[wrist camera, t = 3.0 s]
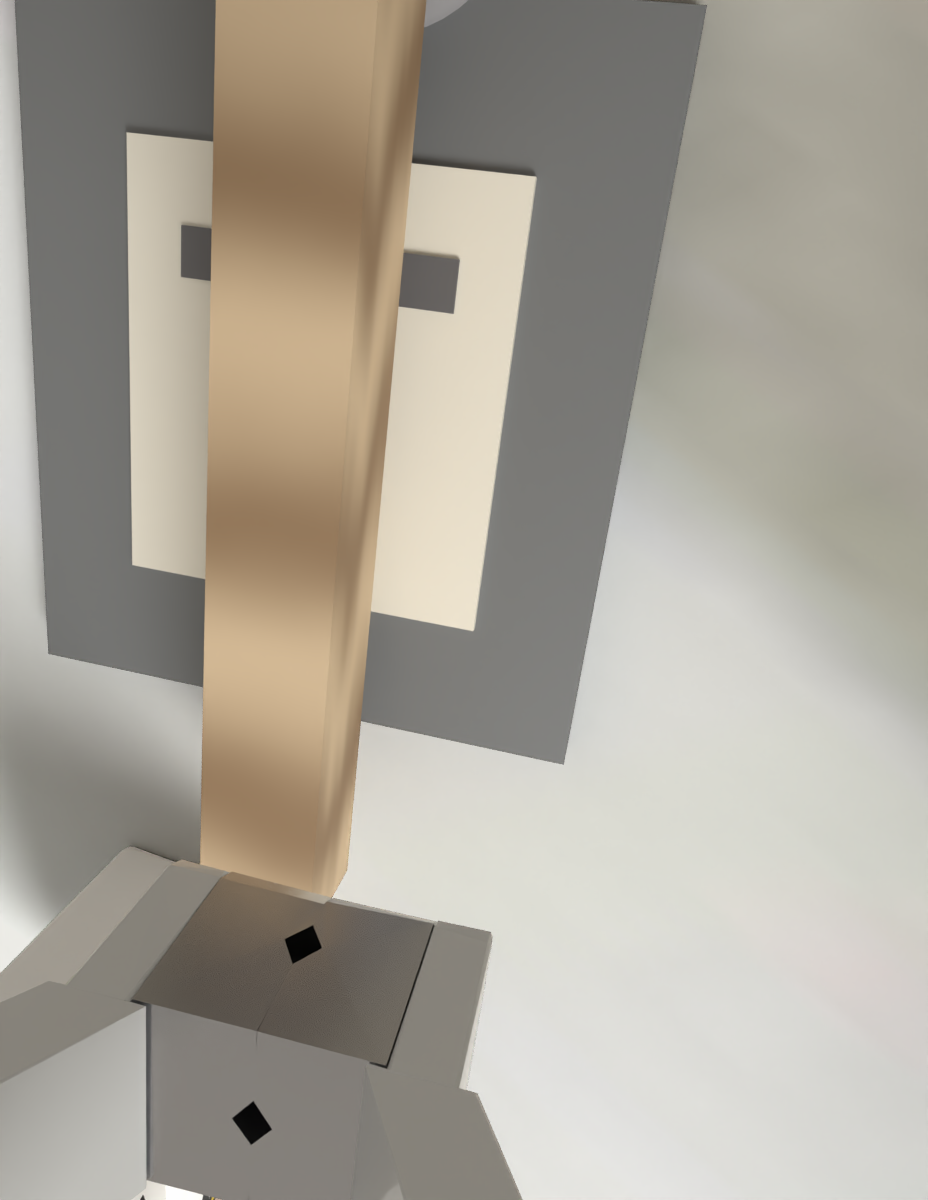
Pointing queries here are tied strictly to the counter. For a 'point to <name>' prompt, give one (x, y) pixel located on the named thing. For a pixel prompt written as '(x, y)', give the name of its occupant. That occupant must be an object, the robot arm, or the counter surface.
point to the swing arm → (298, 414)
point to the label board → (422, 347)
